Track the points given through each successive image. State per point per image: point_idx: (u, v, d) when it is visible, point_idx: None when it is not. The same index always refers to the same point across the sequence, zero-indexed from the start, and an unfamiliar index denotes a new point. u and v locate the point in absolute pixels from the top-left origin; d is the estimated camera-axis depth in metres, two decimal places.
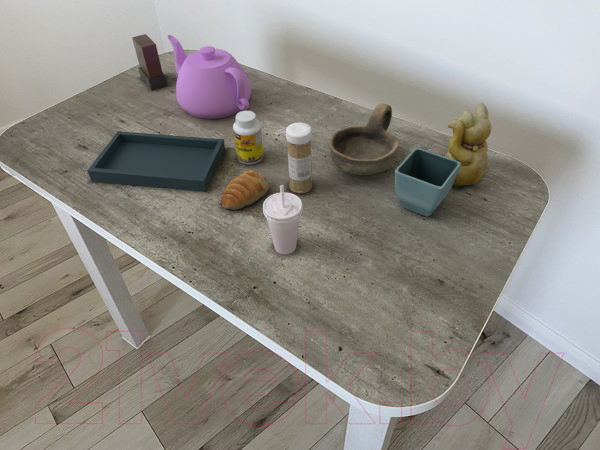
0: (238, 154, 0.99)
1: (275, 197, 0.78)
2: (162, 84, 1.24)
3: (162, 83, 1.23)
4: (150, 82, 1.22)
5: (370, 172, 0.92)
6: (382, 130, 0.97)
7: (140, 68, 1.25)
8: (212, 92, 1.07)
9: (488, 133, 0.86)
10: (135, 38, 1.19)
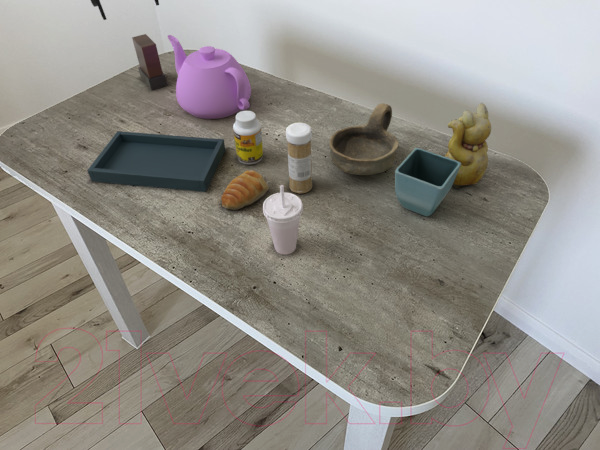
0: (238, 154, 0.99)
1: (275, 197, 0.78)
2: (162, 84, 1.24)
3: (162, 83, 1.23)
4: (150, 82, 1.22)
5: (370, 172, 0.92)
6: (382, 130, 0.97)
7: (140, 68, 1.25)
8: (212, 92, 1.07)
9: (488, 133, 0.86)
10: (135, 38, 1.19)
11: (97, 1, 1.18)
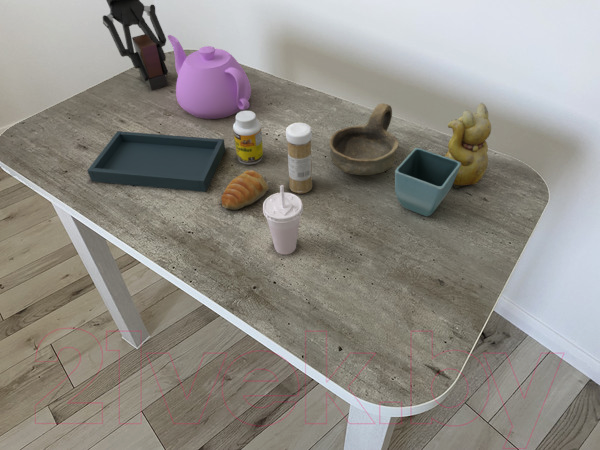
0: (238, 154, 0.99)
1: (275, 197, 0.78)
2: (162, 84, 1.24)
3: (162, 83, 1.23)
4: (150, 82, 1.22)
5: (370, 172, 0.92)
6: (382, 130, 0.97)
7: None
8: (212, 92, 1.07)
9: (488, 133, 0.86)
10: (135, 38, 1.19)
11: (141, 63, 1.19)
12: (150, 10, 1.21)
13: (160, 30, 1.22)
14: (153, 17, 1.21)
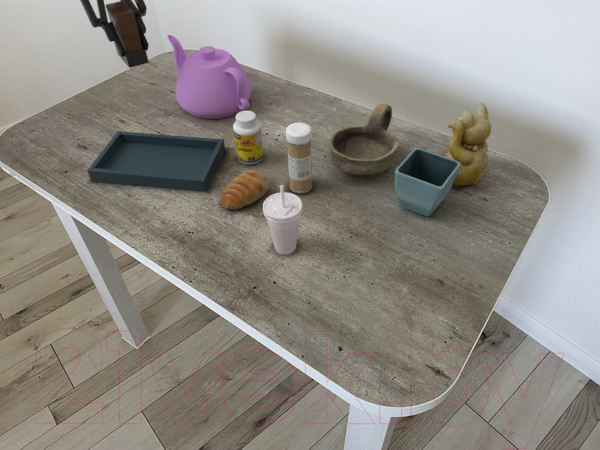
0: (238, 154, 0.99)
1: (275, 197, 0.78)
2: (142, 61, 1.05)
3: (142, 59, 1.05)
4: (127, 58, 1.03)
5: (370, 172, 0.92)
6: (382, 130, 0.97)
7: None
8: (212, 92, 1.07)
9: (488, 133, 0.86)
10: (109, 5, 1.01)
11: (116, 35, 1.00)
12: None
13: None
14: None
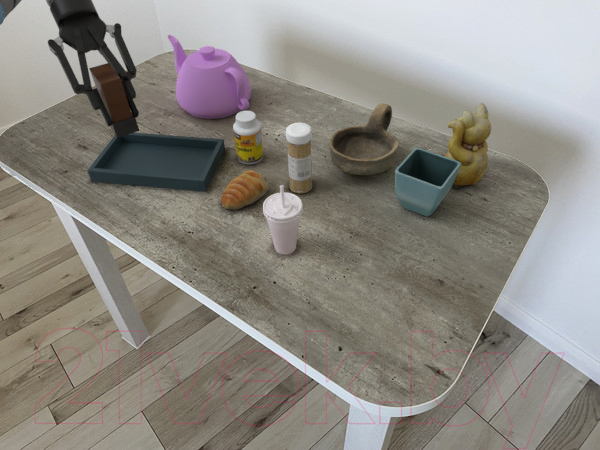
0: (238, 154, 0.99)
1: (275, 197, 0.78)
2: (132, 129, 0.92)
3: (132, 128, 0.92)
4: (115, 128, 0.90)
5: (370, 172, 0.92)
6: (382, 130, 0.97)
7: None
8: (212, 92, 1.07)
9: (488, 133, 0.86)
10: (93, 69, 0.88)
11: (101, 103, 0.88)
12: (114, 31, 0.90)
13: (128, 58, 0.90)
14: (118, 40, 0.90)
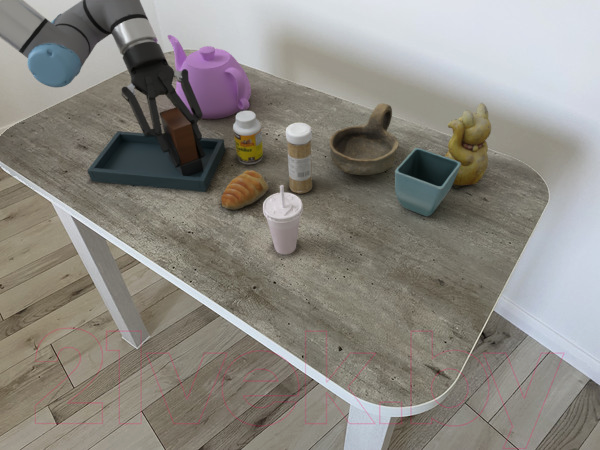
0: (238, 154, 0.99)
1: (275, 197, 0.78)
2: (197, 170, 0.96)
3: (197, 169, 0.96)
4: (182, 169, 0.94)
5: (370, 172, 0.92)
6: (382, 130, 0.97)
7: None
8: (212, 92, 1.07)
9: (488, 133, 0.86)
10: (163, 114, 0.92)
11: (170, 147, 0.92)
12: (182, 76, 0.94)
13: (195, 102, 0.95)
14: (186, 85, 0.94)
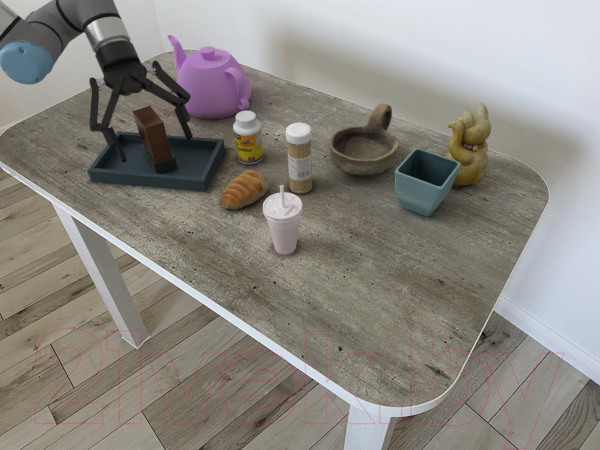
0: (238, 154, 0.99)
1: (275, 197, 0.78)
2: (171, 168, 0.97)
3: (171, 167, 0.97)
4: (156, 167, 0.95)
5: (370, 172, 0.92)
6: (382, 130, 0.97)
7: (143, 146, 0.99)
8: (212, 92, 1.07)
9: (488, 133, 0.86)
10: (136, 112, 0.93)
11: (116, 141, 0.91)
12: (155, 69, 0.95)
13: (178, 87, 0.97)
14: (163, 75, 0.96)
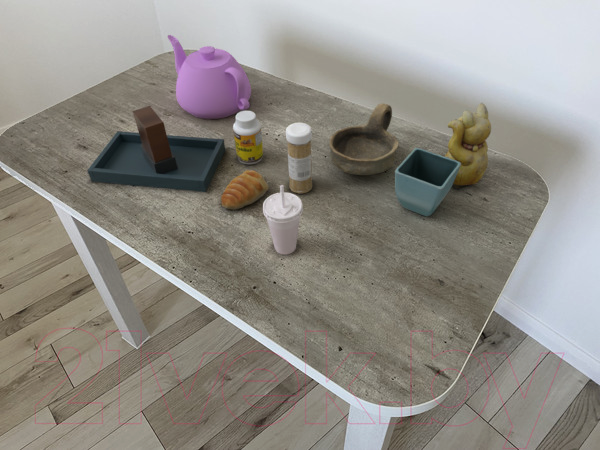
0: (238, 154, 0.99)
1: (275, 197, 0.78)
2: (171, 168, 0.97)
3: (171, 167, 0.97)
4: (156, 167, 0.95)
5: (370, 172, 0.92)
6: (382, 130, 0.97)
7: (143, 146, 0.99)
8: (212, 92, 1.07)
9: (488, 133, 0.86)
10: (136, 112, 0.93)
11: None
12: None
13: None
14: None
